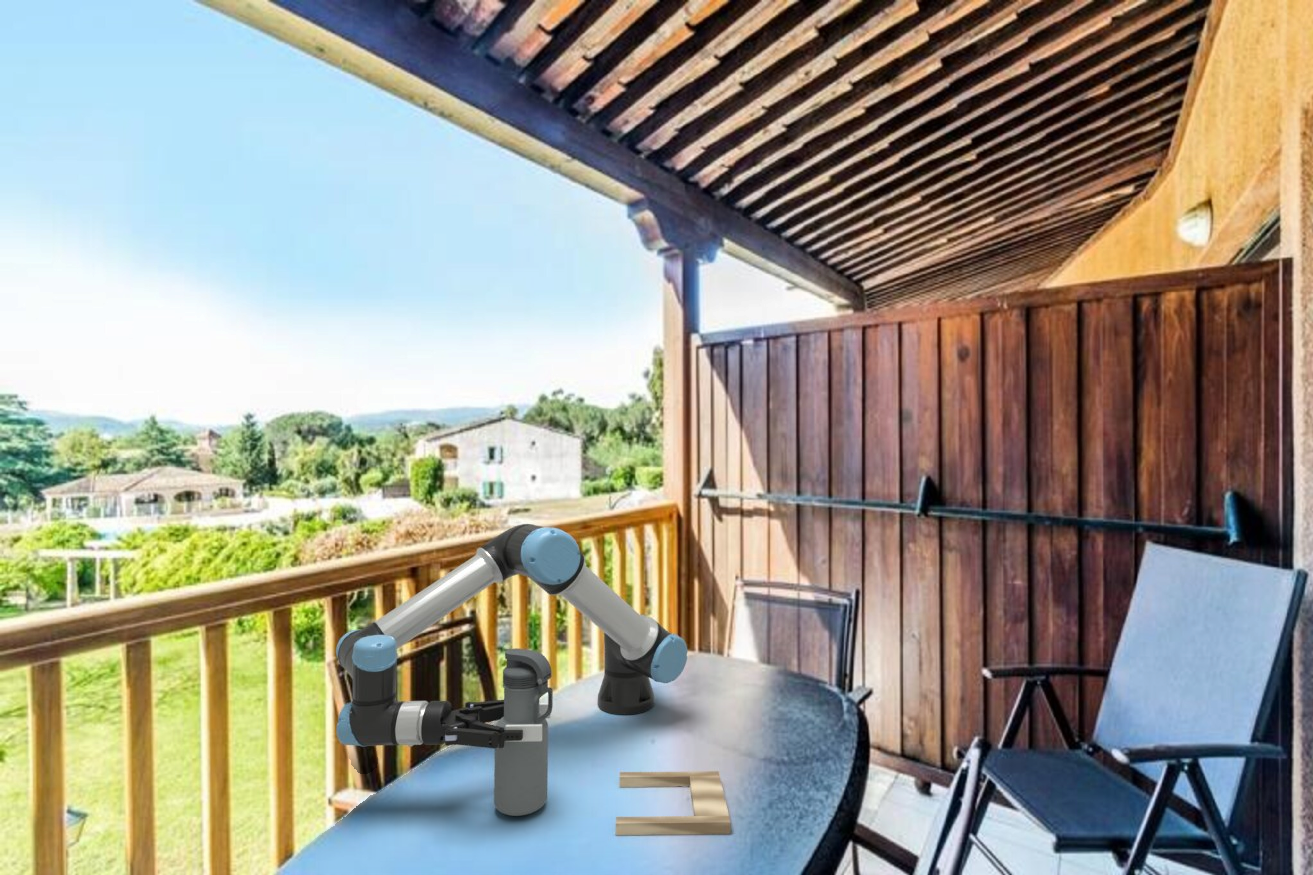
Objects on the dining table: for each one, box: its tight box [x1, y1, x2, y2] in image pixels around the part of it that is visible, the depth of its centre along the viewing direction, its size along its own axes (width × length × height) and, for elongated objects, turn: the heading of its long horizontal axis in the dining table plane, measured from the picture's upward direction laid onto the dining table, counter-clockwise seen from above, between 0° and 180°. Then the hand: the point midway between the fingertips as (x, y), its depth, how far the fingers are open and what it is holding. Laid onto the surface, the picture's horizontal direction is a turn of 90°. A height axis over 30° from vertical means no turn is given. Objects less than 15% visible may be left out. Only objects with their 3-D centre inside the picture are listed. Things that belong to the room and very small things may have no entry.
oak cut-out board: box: [615, 770, 732, 836], centre depth 118 cm, size 18×20×2 cm
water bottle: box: [493, 647, 554, 817], centre depth 117 cm, size 10×10×28 cm
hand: (546, 721), depth 118 cm, fingers closed on water bottle, 9 cm apart
